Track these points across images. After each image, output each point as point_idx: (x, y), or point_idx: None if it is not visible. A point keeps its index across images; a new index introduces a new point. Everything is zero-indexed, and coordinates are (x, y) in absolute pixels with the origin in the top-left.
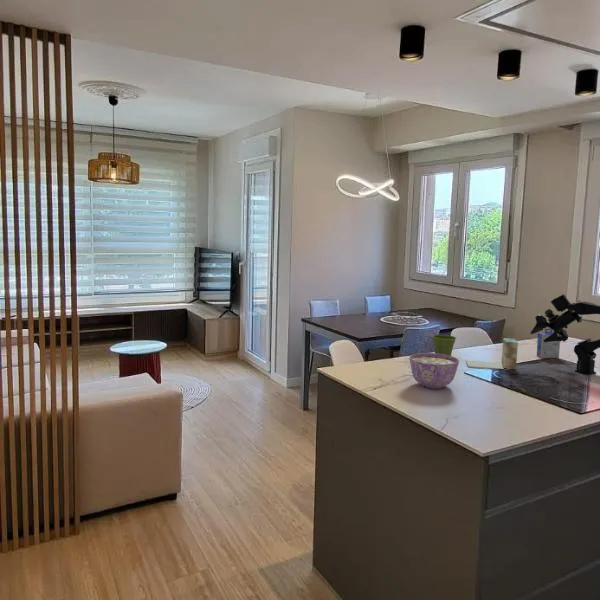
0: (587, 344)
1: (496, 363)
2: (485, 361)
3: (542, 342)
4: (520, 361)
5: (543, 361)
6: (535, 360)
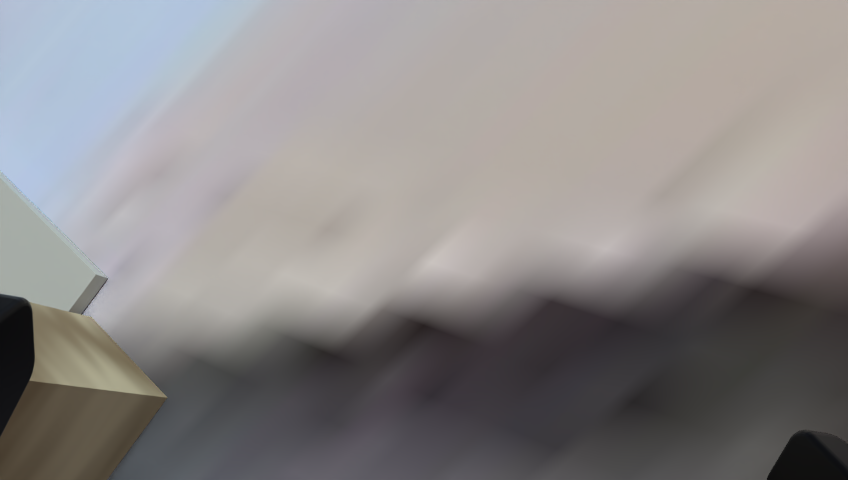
0: None
1: None
2: (6, 190)
3: None
4: (431, 269)
5: (841, 403)
6: (736, 293)
